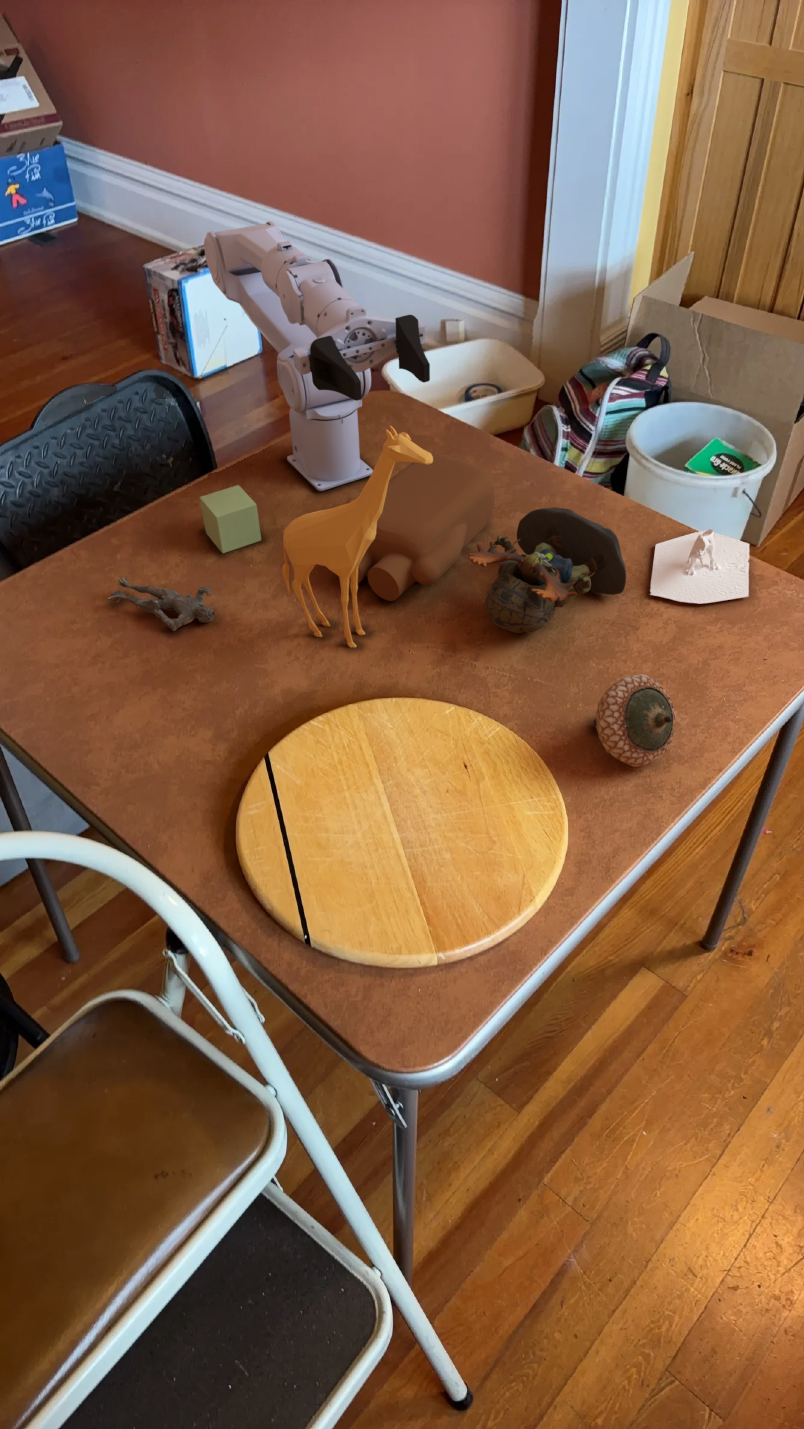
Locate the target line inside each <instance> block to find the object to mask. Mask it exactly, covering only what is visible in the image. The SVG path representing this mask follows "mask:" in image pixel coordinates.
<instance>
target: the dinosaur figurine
mask: <svg viewBox="0 0 804 1429" xmlns="http://www.w3.org/2000/svg"><path fill="white" fill-rule="evenodd" d="M654 546H655V548H654V554H653V561H652V562H653V563H652V571H651V578H650V589H649V592H650V593H649V595H650V596H655V597H660V598H664V599H669V600H672V601H676V602H680V603H688V604H698V605H700V604H702V605H703V604H711V603H717V602H723V601H728V600H736V599H741V598H749V596H750V595H749V594H750V593H749V588H750V587H749V586H750V578H749V577H750V574H749V572H750V543H749V542H745V541H742V540H739V539H737V538H734V537H729V536H727V535H724V534H721V533H717V532H716V531H714V529H705V530H702V531H698V532H697V531H695V532H691V533H689V534H685V535H682V536H678V537H674V538H672V539H667V540H665V541H661V542H658V543H656V544H655V545H654Z"/></svg>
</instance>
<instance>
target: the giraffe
mask: <svg viewBox="0 0 804 1429" xmlns="http://www.w3.org/2000/svg"><path fill="white" fill-rule="evenodd" d="M388 428H389V430H388ZM388 428H386V429H385V434H386V437H387V438H386V440H385V442H384V443H383V444H382V450H381V453H380V455H379V457H378V459H377V461H376V464H375V466H374V468H373V469H372V470H373V472H372V474H371V475H370V476H369V478H368V479H367V481H366V483H365V484H364V487H363V488H362V490H361V491H360V494H359V495H358V496H357V497H356V498H354V499H353V500H351V501H350V502H348V503H343V504H341V505H337V506H334V507H331V508H326V509H322V510H316V511H313V512H309V513H305V514H303V515H300V516H298V517H296V518H294V519H293V520H292V521H291V522H290V523H289V524H288V525H287V526H286V527H285V528H284V531H283V533H282V534H283V535H282V537H283V540H282V541H283V546H282V548H283V557H284V558H283V559H284V564H282V568H281V572H282V577H283V581H284V583H285V586H286V589H287V592H288V596H289V597H290V595H291V589H290V581H289V580H290V578H289V577H290V565H289V564H288V560H289V561H290V564H291V566H292V568H293V575H294V576H293V577H294V579H293V580H292V581H291V588H292V590H293V592H294V594H295V595H296V598H297V599H298V601H299V603H300V605H301V608H302V610H303V612H304V616H305V618H306V621H307V626H308V627H307V628H308V629H309V630H311V631H312V632H313V636H314V637H317V638H323V634H322V632H321V631H320V630H319V628H318V626H317V625H316V623H315V621H313V619H312V616H311V614H310V612H309V610H308V607H307V605H306V602H305V597H304V593H303V588H302V585H303V586H304V588H305V590H306V591H307V593H308V595H309V598H310V601H311V603H312V606H313V609H314V611H315V617H316V619H318V620H320V621H321V626H324V627H331V624H330V622H329V620H327V618H326V616H325V615H324V613H323V612H322V611H321V608H320V607H319V604H318V602H317V599H316V598H315V595H314V592H313V589H312V585H311V582H310V574H311V572H312V571H313V569H314V568H315V567H316V565H318V566H323V567H326V569H328V570H329V571H331V573H333V574H335V575H337V577H338V576H339V577H338V578H339V585H340V592H341V595H340V603H341V608H342V616H343V625H344V626H343V635H344V638H345V639H346V641H347V642H346V644H347V646H348V647H349V648H353V649H354V648H357V644H356V643H355V642H354V640H353V637H352V632H351V628H350V622H349V621H350V620H349V612H348V611H349V610H348V606H349V601H350V599H349V598H350V597H349V592H351V600H352V622H353V623H354V626H355V628H356V629H355V632H356V634H357V635H359V636H364V635H366V632H365V630H364V629H363V627H362V622H361V619H360V615H359V605H358V591H359V590H358V589H359V583H357V582H358V568H359V564H360V562H361V560H362V558H363V556H364V554H365V552H366V550H367V549H368V547H369V546H370V544H371V543H372V542H373V540H374V539H375V536H376V529H377V520H378V519H379V517H380V515H381V514H382V511H383V507H384V502H385V497H386V492H387V488H388V483H389V480H390V479H391V478H392V473H393V470H394V467H395V465H396V463H397V462H402V463H413V462H417V463H423V464H427V465H429V464H431V463H432V462H433V456H432V455H431V453H432V452H430V451H428V450H425V449H423V448H421V447H420V446H419V445H417V443H415V442H413V441H412V438H411V437H410V435H409V434H408V433H407V432H406V431H402V432H399V433H398V432H397V431H396V429H395V428H394V427H393V426H392V425H390V424H389V425H388ZM287 556H288V559H287ZM349 578H351V583H350V584H349ZM349 590H350V591H349Z"/></svg>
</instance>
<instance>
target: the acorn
mask: <svg viewBox="0 0 804 1429" xmlns="http://www.w3.org/2000/svg"><path fill="white" fill-rule="evenodd" d="M674 705H675V704H674V702H673V699H672V697H671V696H670V695H669V693H668V692H667V690H666V689H665V688H664V687H663V685H662V684H661V683H659V682H658V681H657V680H656V679H653V678H651V677H649V675H646V674H643V673H639V674H632V675H628V676H625V677H622V678H621V679H619V680H618V681H615V682H614V683H612V684H611V686H609V687H608V688H607V689H606V690H605V691H604V693H603V695H602V696H601V698H599V701H598V703H597V708H596V711H595V718H594V719H593V720H592V721H591V724H592V725H593V724H594V727H595V728H596V733H597V735H598V739H599V741H600V743H601V745H602V747H603V748H604V751H605V752H606V753H608V754H610V755H611V756H612V757H613V758H614V759H616V760H618V761H620V762H622V763H624V764H627V765H628V766H631V767H634V768H635V767H638V768H639V767H644V766H647V765H651V764H653V763H654V762H656V761H657V760H659V759H660V758H661V757H662V756H663V755H664V754H666V753H667V751H668V749H669V747H670V745H671V744H672V742H673V739H674V737H675V731H676V725H677V715H676V710H675V706H674Z"/></svg>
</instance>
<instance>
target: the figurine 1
mask: <svg viewBox="0 0 804 1429" xmlns="http://www.w3.org/2000/svg"><path fill="white" fill-rule="evenodd" d="M118 577H119V579H117V581H118V583H117V584H116V585H117V586H118V590H117V591H115V592H113V593H111V595H110V596H109V597H107V600H108V601H112V600H113V601H112V603H119V602H120V600H121V599H125V600H126V601H128V602H130V604H133V605H135V606H136V607H137V608H139V609H140V610H142V612H146V613H147V612H148V613H152V614H153V615H155V617H156V618H157V619H160V620H161V621H162V623H163V624H164V625H166V626H167V627H168V629H169V630H171V631H172V632H175V631H176V630H178V629H179V628H180V627H182V626H185V625H188V624H190V623H191V622H192V621H194V620H195V618H197V620H198V621H199V622H200V623H205V624H207V623H210V622H212V621H213V620H214V619H215V616H216V615H215V611H214V609H213V608H212V607H210V606H206V605H205V597H204V596H205V594H206V595H207V596H210V595H211V594H212V588H210V587H207V586H199V587H198V588H197V591H196V593H195V597H192V596H191V594H192V592H188V593H187V595H183V594H182V595H181V594H180V593H179V592H177V591H176V590H174V589H170V588H164V587H155V586H150V585H134V584H131V583H130V582H129V578H128V576H127V575H126V576H125V578H124V577H123V576H120V575H119V576H118ZM121 587H122V588H129V589H132V590H134V591H136V592H138V593H140V594H148V595H150V596H153V598H149V597H147V598H139V597H138V596H136V595H134V594H132V595H129V596H127V595H126V594H125V593H126V592H127V590H124V591H123V592H122V591H120V590H121ZM154 597H155V598H154ZM115 598H118V600H117V601H116V600H114V599H115ZM171 610H174V611H175V613H177V615H178V616H177V618H170V617H168V616H167V614H165V613H164V612H163V611H171Z"/></svg>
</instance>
